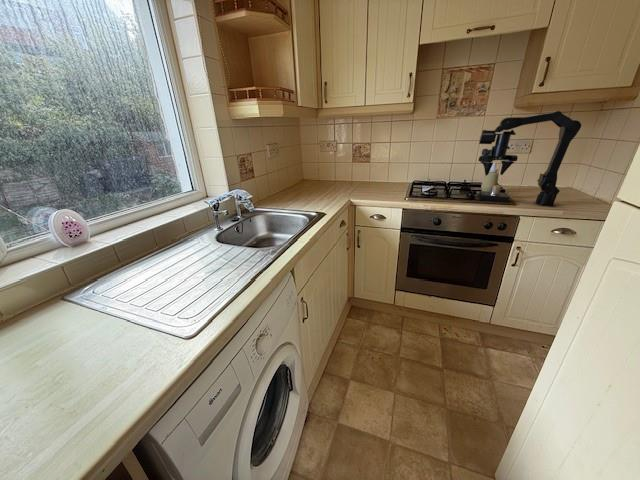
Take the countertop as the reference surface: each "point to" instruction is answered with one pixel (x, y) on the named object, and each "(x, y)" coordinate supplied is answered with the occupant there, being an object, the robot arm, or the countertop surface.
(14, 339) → the countertop surface
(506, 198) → the control panel
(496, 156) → the robot arm
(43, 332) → the countertop surface
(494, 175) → the squeeze bottle
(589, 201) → the countertop surface
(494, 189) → the dial
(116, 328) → the countertop surface
